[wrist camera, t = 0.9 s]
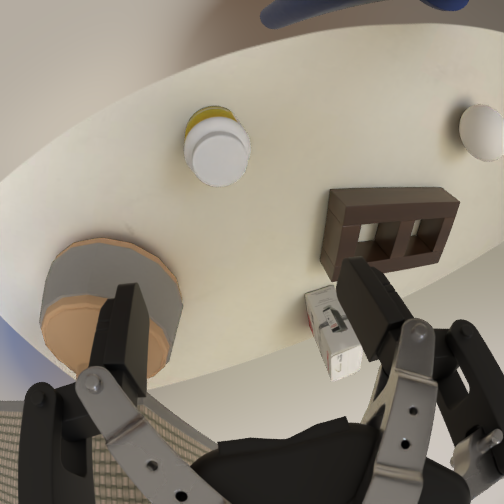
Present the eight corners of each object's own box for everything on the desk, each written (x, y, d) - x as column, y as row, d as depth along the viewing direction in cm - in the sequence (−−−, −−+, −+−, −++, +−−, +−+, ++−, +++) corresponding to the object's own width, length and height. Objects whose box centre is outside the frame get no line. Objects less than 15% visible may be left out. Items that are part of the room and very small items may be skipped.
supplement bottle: (174, 129, 27) (165, 160, 19) (216, 94, 25) (226, 108, 18) (209, 165, 30) (216, 209, 22) (250, 133, 29) (273, 164, 21)
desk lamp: (156, 201, 31) (156, 635, 2) (211, 312, 43) (257, 575, 14) (23, 258, 31) (-51, 526, 2) (93, 342, 43) (83, 558, 14)
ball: (451, 93, 28) (495, 109, 22) (483, 103, 29) (522, 120, 22) (444, 146, 33) (483, 170, 26) (475, 150, 34) (511, 172, 27)
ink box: (335, 317, 49) (361, 372, 40) (308, 326, 49) (331, 383, 40) (333, 283, 44) (365, 343, 35) (303, 292, 44) (330, 356, 35)
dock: (330, 188, 34) (346, 206, 30) (441, 187, 37) (460, 201, 33) (319, 260, 41) (331, 282, 37) (423, 246, 43) (438, 263, 40)
